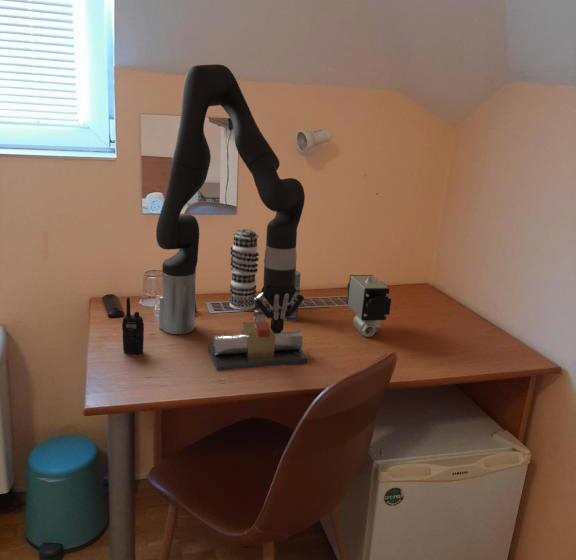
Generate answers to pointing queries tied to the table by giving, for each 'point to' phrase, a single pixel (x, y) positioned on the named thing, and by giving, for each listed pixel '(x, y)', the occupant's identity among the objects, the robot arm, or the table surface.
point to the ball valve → (368, 302)
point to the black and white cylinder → (243, 270)
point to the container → (297, 286)
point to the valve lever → (261, 324)
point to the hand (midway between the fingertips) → (276, 332)
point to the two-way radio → (132, 331)
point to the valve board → (258, 360)
